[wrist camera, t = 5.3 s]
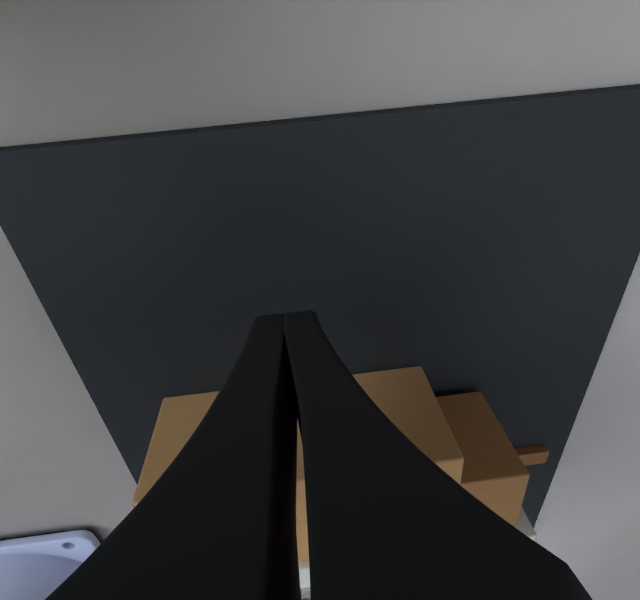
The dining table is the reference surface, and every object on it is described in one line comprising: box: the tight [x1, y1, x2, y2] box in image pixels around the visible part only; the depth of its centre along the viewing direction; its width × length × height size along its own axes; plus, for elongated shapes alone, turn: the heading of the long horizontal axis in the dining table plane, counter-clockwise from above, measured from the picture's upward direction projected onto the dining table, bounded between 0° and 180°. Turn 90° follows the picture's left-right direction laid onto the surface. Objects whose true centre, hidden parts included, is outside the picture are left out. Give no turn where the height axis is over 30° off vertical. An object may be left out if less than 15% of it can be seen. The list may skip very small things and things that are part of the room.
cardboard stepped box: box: [132, 366, 537, 589], centre depth 15 cm, size 12×5×4 cm, turn 94°
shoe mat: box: [0, 84, 640, 528], centre depth 17 cm, size 18×22×1 cm
